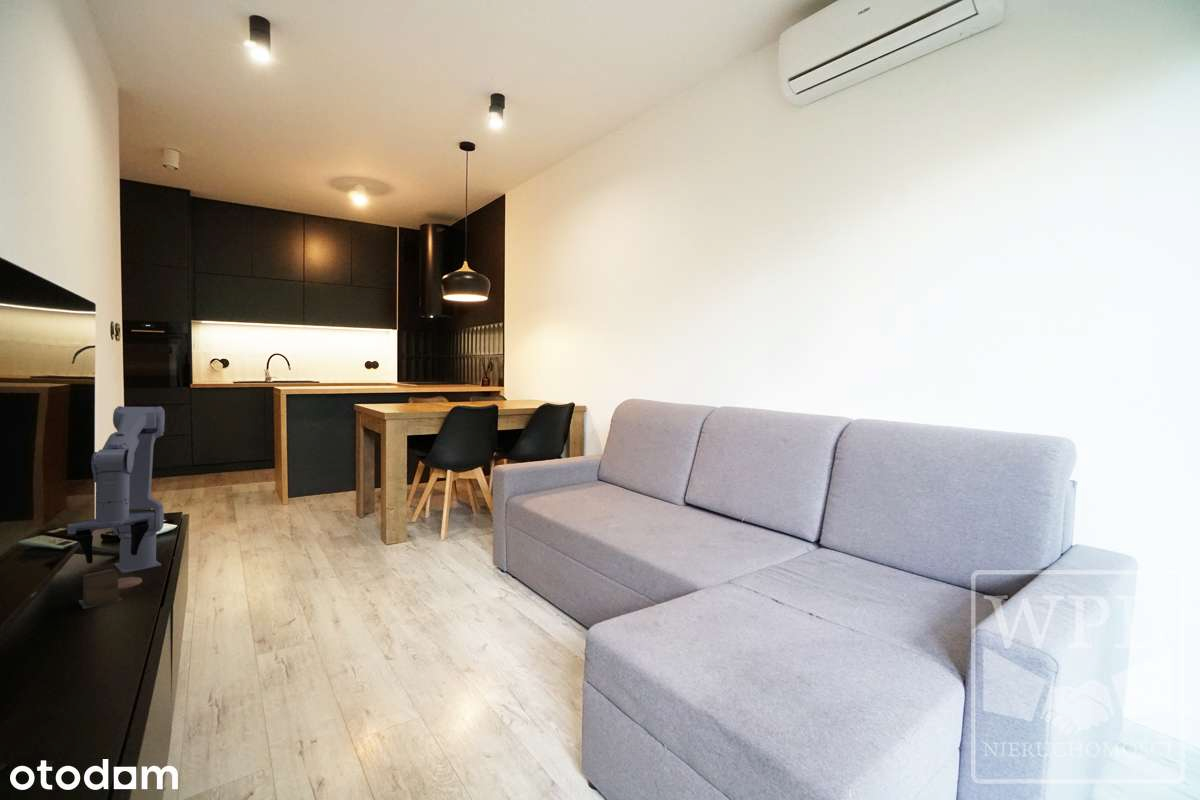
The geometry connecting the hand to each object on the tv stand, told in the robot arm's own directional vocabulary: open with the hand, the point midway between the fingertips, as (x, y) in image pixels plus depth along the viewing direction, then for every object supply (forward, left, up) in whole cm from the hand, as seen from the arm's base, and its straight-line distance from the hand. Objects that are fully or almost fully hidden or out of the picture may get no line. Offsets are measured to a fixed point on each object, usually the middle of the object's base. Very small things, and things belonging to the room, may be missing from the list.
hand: (112, 558), depth 121 cm
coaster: (-9, +3, -10) cm, 14 cm away
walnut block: (-1, -2, -10) cm, 10 cm away
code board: (-1, -2, -10) cm, 10 cm away
